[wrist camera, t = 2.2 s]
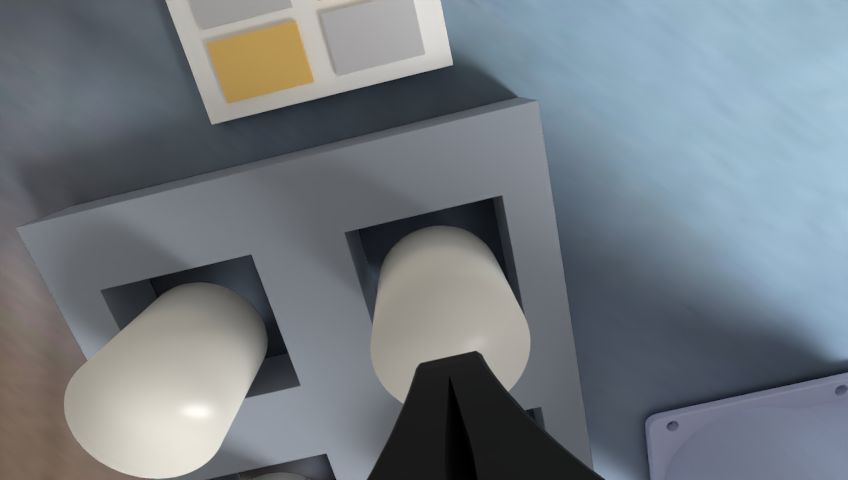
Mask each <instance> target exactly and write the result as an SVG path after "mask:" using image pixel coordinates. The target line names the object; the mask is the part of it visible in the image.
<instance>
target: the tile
mask: <svg viewBox="0 0 848 480" xmlns="http://www.w3.org/2000/svg"><path fill="white" fill-rule="evenodd" d="M166 3H167V6H168V8H169V11H170V14H171V16H172V19H173V22H174V24H175V27H176V30H177V33H178V35H179V38H180V41H181V43H182V46H183V49H184V51H185V54H186V57H187V59H188V62H189V65H190V68H191V70H192V73H193V76H194V78H195V81H196V84H197V86H198V89H199V92H200V94H201V97H202V100H203V103H204V105H205V108H206V111H207V113H208V116H209V119H210V121H211V124H212V125H213V124H217V123H221V122H225V121H229V120H233V119H237V118H241V117H245V116H249V115H253V114H257V113H261V112H265V111H269V110H273V109H277V108H281V107H285V106H289V105H293V104H297V103H301V102H305V101H309V100H313V99H317V98H321V97H326V96H330V95H334V94H338V93H342V92H346V91H350V90H354V89H358V88H362V87H366V86H370V85H374V84H378V83H382V82H386V81H390V80H394V79H398V78H402V77H406V76H410V75H414V74H418V73H422V72H426V71H430V70H434V69H438V68H442V67H446V66H450V65H453V61H452V56H451V51H450V46H449V41H448V36H447V31H446V26H445V21H444V16H443V11H442V7H441V2H440V0H166Z"/></svg>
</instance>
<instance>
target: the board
mask: <svg viewBox="0 0 848 480" xmlns="http://www.w3.org/2000/svg"><path fill="white" fill-rule="evenodd" d="M492 197H493V203H494V208H495V213H496V218H497V223H498V229H499V234H500V239H501V244H502V249H503V255H504V260H505V265H506V270H507V275H508V281H509V286H510V288H511V290H512V292H513V294H514V296H515V298H516V300H517V302H518V304H519V306H520V308H521V310H522V312H523V314H524V316H525V319H526V321H527V324H528V328H529V332H530V353H529V358H528V361H527V364H526V367H525V369H524V371H523V373H522V375H521V377H520V378H519V380H518V381H517V382H516V384H515V385H514V386H513V387H512V388H511V389H510V391H508V392H509V393H510V395H511V396H512V397H513V398H514V399H515V400H516V401H517V402H518V403H519V404H520V406H521V407H522V408H523V409H524V410H528V409H533V411H534V416H535V421H536V422H537V423H538V424H539V425H540V426H541V427H542V428H543V429H544V430H545V431H546V432H547V433H548V434H550V435H551V436H552V437H553V438H554V439H555V440H556V441H557V442H558V443H560V444H561V445H562V446H563V447H564V448H565V449H567V450H568V451H569V452H570V453H571V454H573V455H574V456H575V457H576V458H578V459H579V460H580V461H581V462H583V463H584V464H585V465H586V466H588V467H589V468H590V469H592V470H593V463H592V457H591V450H590V443H589V437H588V430H587V423H586V417H585V410H584V403H583V397H582V390H581V383H580V376H579V370H578V363H577V356H576V350H575V343H574V336H573V330H572V323H571V316H570V310H569V303H568V296H567V290H566V283H565V276H564V270H563V263H562V256H561V250H560V243H559V236H558V230H557V223H556V216H555V210H554V203H553V196H552V190H551V183H550V176H549V169H548V163H547V156H546V149H545V143H544V136H543V129H542V123H541V116H540V109H539V103H538V100H532V99H527V98H521V97H517V98H513V99H509V100H505V101H500V102H496V103H492V104H488V105H484V106H480V107H476V108H472V109H468V110H464V111H459V112H455V113H451V114H447V115H443V116H439V117H435V118H431V119H427V120H423V121H418V122H414V123H410V124H406V125H402V126H398V127H394V128H390V129H386V130H382V131H377V132H373V133H369V134H365V135H361V136H357V137H353V138H349V139H345V140H341V141H336V142H332V143H328V144H324V145H320V146H316V147H312V148H308V149H304V150H300V151H295V152H291V153H287V154H283V155H279V156H275V157H271V158H267V159H263V160H259V161H254V162H250V163H246V164H242V165H238V166H234V167H230V168H226V169H222V170H218V171H214V172H209V173H205V174H201V175H197V176H193V177H189V178H185V179H181V180H177V181H173V182H168V183H164V184H160V185H156V186H152V187H148V188H144V189H140V190H136V191H132V192H127V193H123V194H119V195H115V196H111V197H107V198H103V199H99V200H95V201H91V202H86V203H82V204H78V205H74V206H70V207H68V208H65V209H62V210H60V211H57V212H55V213H52V214H50V215H47V216H44V217H42V218H39V219H37V220H34V221H32V222H29V223H26V224H24V225H21V226H19V227H16V229H17V231H18V233H19V235H20V237H21V239H22V240H23V242H24V244H25V246H26V248H27V250H28V252H29V253H30V255H31V257H32V259H33V261H34V263H35V264H36V266H37V268H38V270H39V272H40V274H41V276H42V277H43V279H44V281H45V283H46V285H47V287H48V289H49V290H50V292H51V294H52V296H53V298H54V300H55V301H56V303H57V305H58V307H59V309H60V311H61V313H62V314H63V316H64V318H65V320H66V322H67V324H68V326H69V327H70V329H71V331H72V333H73V335H74V337H75V338H76V340H77V342H78V344H79V346H80V348H81V350H82V351H83V353H84V355H85V357H86V359H87V361H88V360H89V359H90V358H92V357H93V356H94V355H95V354H96V353H97V352H98V351H99V350H100V349H102V348H103V347H104V346H105V345H106V344H107V343H108V342H109V341H110V340H112V339H113V338H114V337H115V336H116V335H117V334H118V333H119V332H121V331H122V330H123V329H124V328H125V327H126V326H127V325H128V324H129V323H131V322H132V321H133V320H134V319H135V318H136V317H137V316H138V315H140V314H141V313H142V312H143V311H144V310H145V309H146V308H147V307H148V306H150V305H151V304H152V303H153V302H154V301H155V300H156V299H157V298H158V297H157V295H156V293H155V291H154V289H153V286H152V284H151V282H150V280H149V278H153V277H158V276H162V275H166V274H170V273H175V272H179V271H183V270H187V269H191V268H196V267H200V266H204V265H208V264H213V263H217V262H221V261H225V260H230V259H234V258H238V257H242V256H247V255H252V258H253V260H254V263H255V266H256V268H257V271H258V274H259V276H260V279H261V282H262V284H263V287H264V289H265V292H266V295H267V297H268V300H269V303H270V305H271V308H272V311H273V313H274V316H275V319H276V321H277V324H278V326H279V329H280V332H281V334H282V337H283V340H284V342H285V345H286V348H287V350H288V353H287V354H283V355H278V356H274V357H269V358H265V359H264V360H263V362H262V364H261V366H260V368H259V370H258V372H257V374H256V376H255V378H254V380H253V382H252V384H251V386H250V388H249V390H248V392H247V394H246V396H245V398H244V400H243V402H242V404H241V406H240V408H239V410H238V412H237V414H236V416H235V418H234V420H233V422H232V424H231V426H230V428H229V430H228V432H227V434H226V436H225V438H224V440H223V442H222V444H221V446H220V448H219V449H218V451H217V452H216V454H215V455H214V456H213V457H212V458H211V459H210V460H209V461H208V462H207V463H206V464H204V465H203V466H202V467H200V468H198V469H196V470H195V471H192V472H190V473H187V474H184V475H181V476H177V477H171V478H161V479H154V478H151V479H152V480H242V479H241V477H240V475H239V473H238V472H243V471H247V470H252V469H257V468H261V467H266V466H270V465H275V464H280V463H284V462H289V461H293V460H298V459H303V458H307V457H312V456H316V455H321V454H326V453H327V456H328V459H329V461H330V464H331V467H332V469H333V472H334V475H335V477H336V480H367V478H368V476H369V475H370V473H371V471H372V469H373V467H374V465H375V463H376V462H377V460H378V458H379V456H380V454H381V452H382V450H383V448H384V446H385V444H386V442H387V440H388V438H389V436H390V434H391V432H392V430H393V427H394V425H395V423H396V421H397V418H398V416H399V414H400V411H401V409H402V407H403V403H401V402H400V401H399V400H397V399H396V398H395V397H393V396H392V395H391V394H390V393H389V392H388V391H387V390H386V389H385V387H384V386H383V385H382V384H381V382H380V380H379V379H378V377H377V375H376V373H375V370H374V368H373V364H372V360H371V352H370V345H371V335H372V327H373V319H374V312H375V304H376V297H377V292H376V289H375V286H374V282H373V279H372V275H371V272H370V269H369V265H368V262H367V258H366V255H365V252H364V248H363V245H362V241H361V238H360V235H359V231H358V229H361V228H365V227H370V226H374V225H378V224H382V223H386V222H391V221H395V220H399V219H403V218H408V217H412V216H416V215H420V214H425V213H429V212H433V211H437V210H442V209H446V208H450V207H454V206H459V205H463V204H467V203H471V202H475V201H480V200H484V199H488V198H492ZM593 471H594V470H593Z"/></svg>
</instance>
